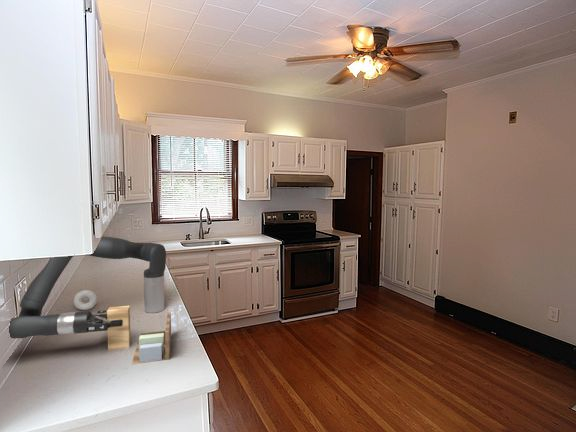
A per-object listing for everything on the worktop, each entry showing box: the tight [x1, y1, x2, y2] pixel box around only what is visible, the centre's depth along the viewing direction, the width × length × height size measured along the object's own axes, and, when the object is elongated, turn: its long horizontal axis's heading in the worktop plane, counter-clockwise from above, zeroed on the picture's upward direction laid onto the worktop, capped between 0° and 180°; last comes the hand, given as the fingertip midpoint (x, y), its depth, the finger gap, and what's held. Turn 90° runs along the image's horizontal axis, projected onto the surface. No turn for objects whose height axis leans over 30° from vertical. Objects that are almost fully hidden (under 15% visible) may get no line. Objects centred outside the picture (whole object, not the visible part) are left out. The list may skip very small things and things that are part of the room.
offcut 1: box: [138, 333, 164, 358], centre depth 120 cm, size 3×8×7 cm, turn 107°
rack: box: [131, 311, 172, 365], centre depth 124 cm, size 19×12×11 cm, turn 17°
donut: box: [73, 289, 98, 311], centre depth 164 cm, size 10×4×10 cm, turn 114°
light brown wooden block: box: [106, 305, 132, 351], centre depth 125 cm, size 4×7×15 cm, turn 107°
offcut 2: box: [140, 343, 163, 363], centre depth 117 cm, size 2×7×5 cm, turn 107°
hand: (124, 318), depth 125 cm, fingers open, 8 cm apart
